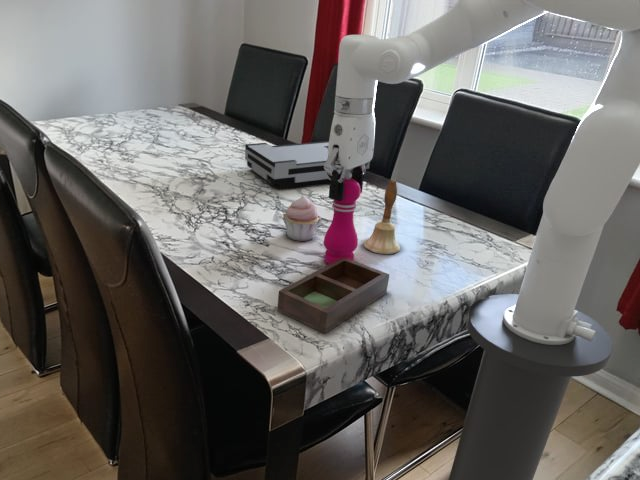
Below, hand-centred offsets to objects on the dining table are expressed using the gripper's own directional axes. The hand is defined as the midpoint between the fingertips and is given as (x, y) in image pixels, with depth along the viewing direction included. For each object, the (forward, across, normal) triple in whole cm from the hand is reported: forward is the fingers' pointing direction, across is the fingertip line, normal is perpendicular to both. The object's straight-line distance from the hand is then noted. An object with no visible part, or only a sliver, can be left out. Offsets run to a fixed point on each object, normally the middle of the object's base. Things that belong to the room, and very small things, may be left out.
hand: (345, 194), depth 118 cm
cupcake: (+15, +5, +15) cm, 22 cm away
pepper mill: (+15, 0, 0) cm, 15 cm away
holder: (+15, -15, -9) cm, 24 cm away
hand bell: (+16, +14, -2) cm, 21 cm away
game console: (+15, +43, +43) cm, 62 cm away
